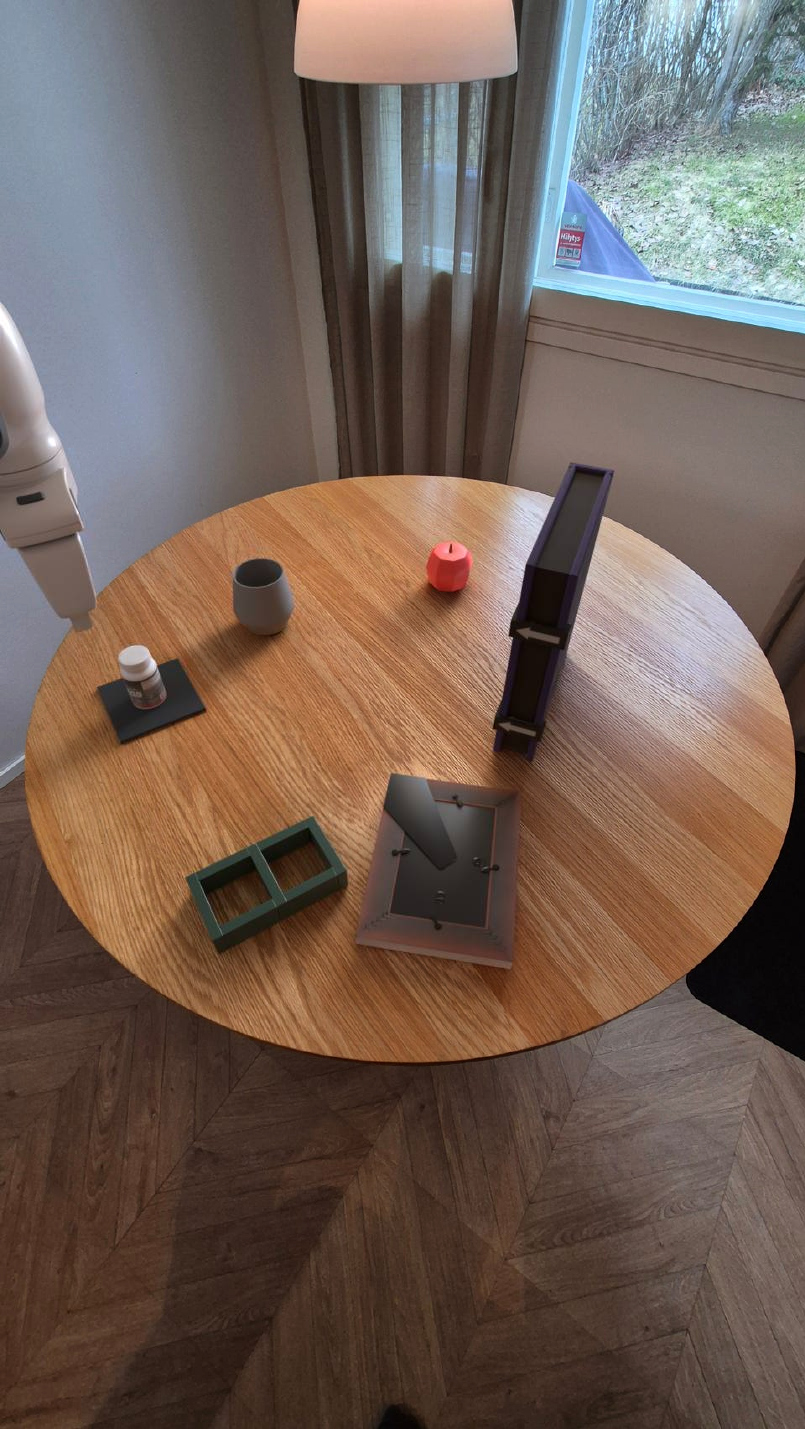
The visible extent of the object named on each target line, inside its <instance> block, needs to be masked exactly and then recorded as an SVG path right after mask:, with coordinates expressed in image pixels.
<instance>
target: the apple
mask: <svg viewBox="0 0 805 1429" xmlns="http://www.w3.org/2000/svg"><path fill="white" fill-rule="evenodd" d="M473 565H474V563H473V556H472V555H471V553H470V551H469V550H468V549H467V548H466V547H465V546H464V545H463V544H461V543H459V542H454V541H445V542H442V543H441V542H440V543H439V544H436V545H435V546H434V547H433V548H432V549H431V552H430V554H429V556H428V558H427V563H426V566H425V568H426V574H427V578H428V582H429V583H430V584H431V585H432V586H433V587H434V588H435V589H436V590H438V591H441V592H449V593H450V592H451V593H453V592H455V591H458V590H461V589H464V588H466V586H467V582H468V580H469V578H470V573H471V572H472V571H471V570H472V568H473Z"/></svg>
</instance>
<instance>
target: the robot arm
mask: <svg viewBox="0 0 805 1429" xmlns="http://www.w3.org/2000/svg"><path fill="white" fill-rule="evenodd" d="M40 382H41V381H40V380H39V377H38V374H37V371H36V368H35V366H34V364H33V361H32V358H31V355H30V353H29V351H28V349H27V346H26V344H25V341H24V340H23V338H22V335H21V333H20V331H19V329H18V327H17V325H16V323H15V322H14V319H13V317H12V316H11V314H10V313H9V311H8V310H7V308H6V307H5V306H4V304H3V303H2V301H0V535H1V537H2V540H3V541H4V542H5V544H6V545H7V547H8V548H9V549H11V550H14V549H16V551H17V553H18V554H19V556H20V557H21V559H22V561H23V562H24V565H25V566H26V567H27V569H28V571H29V573H30V574H31V576H32V577H33V579H34V581H35V583H36V584H37V586H38V588H39V589H40V591H41V593H42V595H43V596H44V598H45V599H46V601H47V603H48V604H49V606H50V607H51V609H52V610H53V611H54V613H55V615H57V616H58V617H59V618H60V619H69V620H70V622H71V625H72V627H73V629H74V631H76V632H79V633H81V632H84V631H87V630H90V629H92V628H93V626H94V624H93V621H92V618H91V616H90V614H89V613H90V612H92V611H94V610H96V609H97V606H98V599H97V593H96V590H95V586H94V581H93V578H92V572H91V570H90V565H89V562H88V559H87V555H86V551H85V548H84V545H83V541H82V537H81V534H80V532H83V531H84V530H85V525H84V523H83V519H82V516H81V513H80V510H79V507H78V492H79V490H78V486H77V483H76V481H75V477H74V475H73V472H72V469H71V467H70V464H69V461H68V458H67V455H66V452H65V449H64V447H63V444H62V441H61V439H60V437H59V435H58V433H57V432H56V430H55V429H54V428H53V426H52V425H51V422H50V421H49V418H48V414H47V412H46V403H45V393H44V390H43V388H42V385H41V383H40Z"/></svg>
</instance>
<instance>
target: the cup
mask: <svg viewBox="0 0 805 1429" xmlns="http://www.w3.org/2000/svg"><path fill="white" fill-rule="evenodd" d="M232 610H233V613H234V615H235V617H236V618H237V620H238V621H239V622H240V623H241V624H242V625H243V626H244V627H245V628H246V629H247V630H248V631H249V632H251V633H253V634H255V635H258V636H272V635H275V634H277V633H279V632H282V631H283V629H285V628H286V626H287V625H288V622H289V620H290V619H291V616H292V615H293V611H294V610H295V598H294V595H293V593H292V589H291V587H290V584H289V581H288V578H287V575H286V573H285V570H284V567H283V566H282V565H281V563H279V562H278V561H276V560H275V559H272V558H266V557H256V558H251V559H247V560H245V561H243V562H241V563H239V564H238V565H237V566H235V568H234V570H233V571H232Z"/></svg>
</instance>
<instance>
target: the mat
mask: <svg viewBox="0 0 805 1429" xmlns="http://www.w3.org/2000/svg"><path fill="white" fill-rule="evenodd" d="M156 665H157V668H158V670H159V673H160V676H161V679H162V682H163V685H164V687H165V690H166V698H165V700H164V702H163V703H162V704H160V705H159V706H157V707H155V708H152V709H140V708H138V707H136V706H135V705H134V704H133V702H132V700H131V697H130V695H129V693H128V690H127V688H126V686H125V683H124V681H123V679H122V677H120V678H118V679H115V680H112V681H110V682H107V683H104V684H102V685H98V686H97V687H96V689H97V691H98V693H99V696H100V698H101V701H102V703H103V705H104V707H105V710H106V712H107V714H108V717H109V719H110V722H111V724H112V727H113V730H114V732H115V733H116V737H117V738H118V741H119V744H120V745H122V744H125V743H128V742H130V741H133V740H135V739H138V738H140V737H143V736H145V735H148V734H151V733H153V732H156V731H158V730H161V729H163V728H166V727H168V726H171V725H173V724H176V723H178V722H181V721H183V720H184V721H185V720H186V719H188V718H191V717H194V716H196V715H199V714H201V713H205V712H207V708H206V706H205V704H204V703H203V701H202V699H201V697H200V695H199V693H198V692H197V690H196V689H195V687H194V685H193V683H192V681H191V679H190V677H189V676H188V674H187V672H186V670H185V669H184V667H183V665H182V663H181V662H180V660H179V658H178V657H176V658H174V659H171V660H168V661H165V662H163V663H159V664H156Z"/></svg>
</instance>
